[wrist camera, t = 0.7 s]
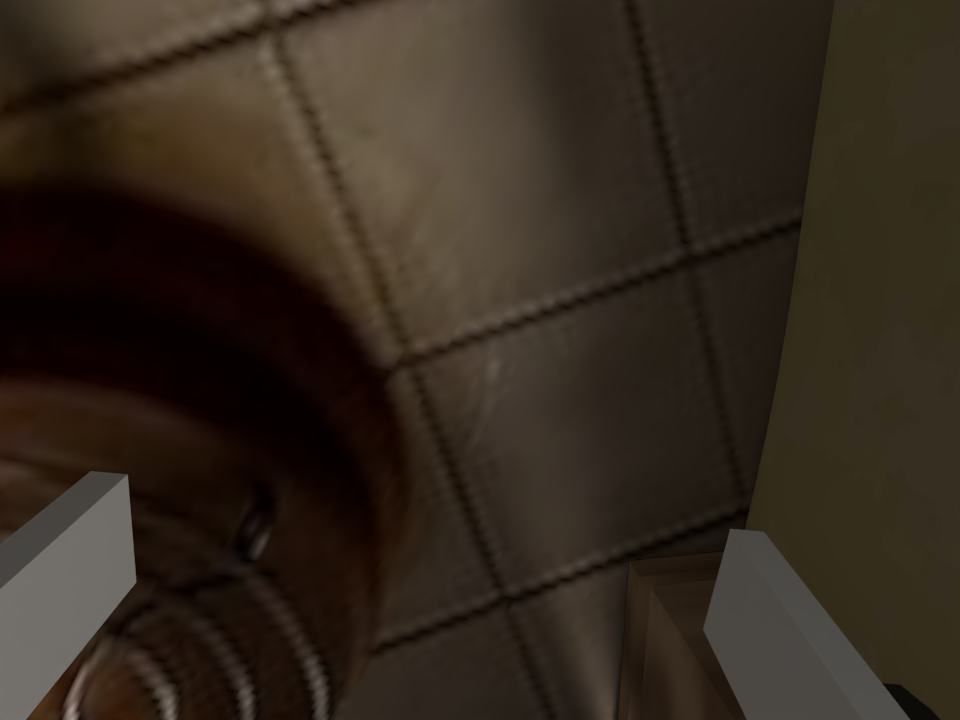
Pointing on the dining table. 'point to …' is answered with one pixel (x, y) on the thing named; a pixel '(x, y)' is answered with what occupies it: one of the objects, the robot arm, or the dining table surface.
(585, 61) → the dining table surface
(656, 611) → the walnut stand
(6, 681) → the robot arm
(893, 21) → the cheese
